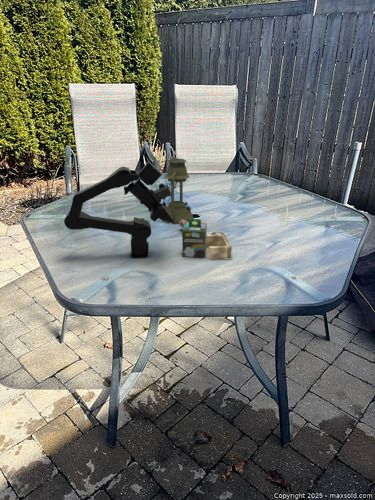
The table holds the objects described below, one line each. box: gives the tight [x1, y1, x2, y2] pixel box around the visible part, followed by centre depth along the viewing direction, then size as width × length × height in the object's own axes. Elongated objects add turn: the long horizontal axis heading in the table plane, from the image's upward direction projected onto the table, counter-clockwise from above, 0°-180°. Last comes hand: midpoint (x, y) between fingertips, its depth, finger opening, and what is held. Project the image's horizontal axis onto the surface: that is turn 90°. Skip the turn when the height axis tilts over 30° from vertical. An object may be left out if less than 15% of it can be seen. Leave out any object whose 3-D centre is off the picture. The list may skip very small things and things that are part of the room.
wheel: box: [210, 231, 225, 235], centre depth 166 cm, size 6×6×3 cm
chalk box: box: [181, 218, 208, 259], centre depth 150 cm, size 9×9×15 cm
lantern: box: [160, 157, 195, 225], centre depth 186 cm, size 21×18×30 cm
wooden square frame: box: [206, 233, 233, 260], centre depth 152 cm, size 8×14×5 cm, turn 6°
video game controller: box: [178, 220, 188, 229], centre depth 174 cm, size 10×5×7 cm, turn 21°
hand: (173, 221), depth 146 cm, fingers closed
